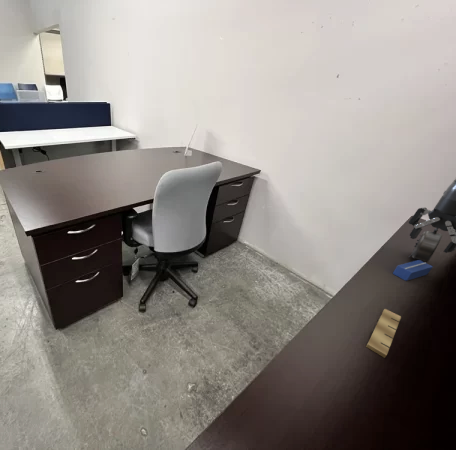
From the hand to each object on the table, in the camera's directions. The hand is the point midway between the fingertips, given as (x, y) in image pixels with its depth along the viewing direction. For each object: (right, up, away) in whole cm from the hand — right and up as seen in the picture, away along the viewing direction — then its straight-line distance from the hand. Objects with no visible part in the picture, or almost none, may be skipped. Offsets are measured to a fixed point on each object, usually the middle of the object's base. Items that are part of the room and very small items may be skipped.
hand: (428, 244), depth 78 cm
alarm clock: (+10, -7, +14) cm, 18 cm away
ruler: (-31, -21, -17) cm, 41 cm away
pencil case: (0, -11, +5) cm, 12 cm away
